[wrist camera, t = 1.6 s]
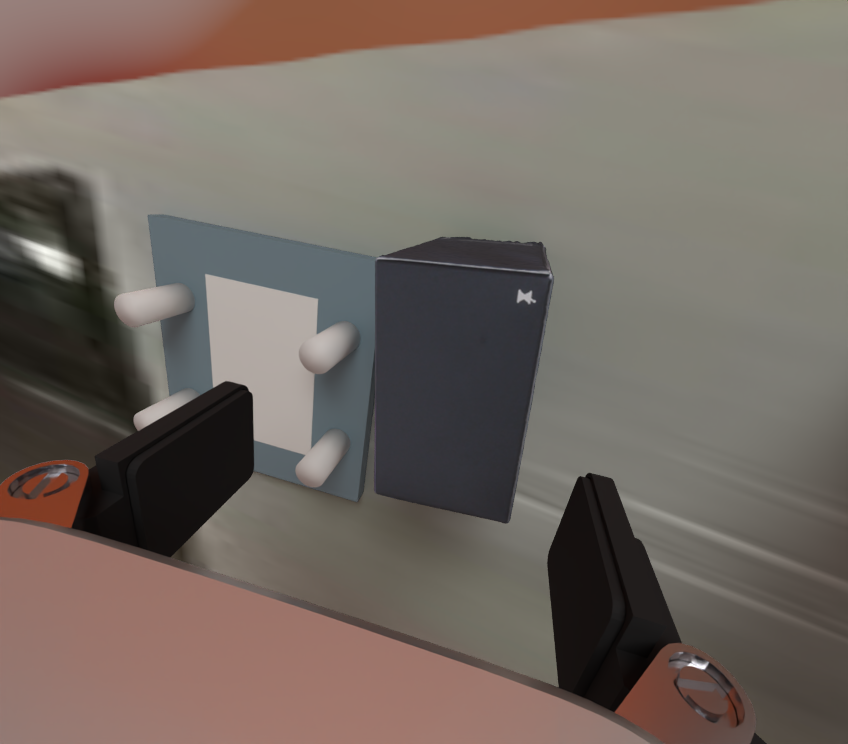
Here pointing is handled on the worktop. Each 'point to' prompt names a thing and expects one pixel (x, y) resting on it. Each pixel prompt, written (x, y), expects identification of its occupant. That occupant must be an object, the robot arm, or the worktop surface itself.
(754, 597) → the worktop surface
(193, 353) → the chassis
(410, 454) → the small box
